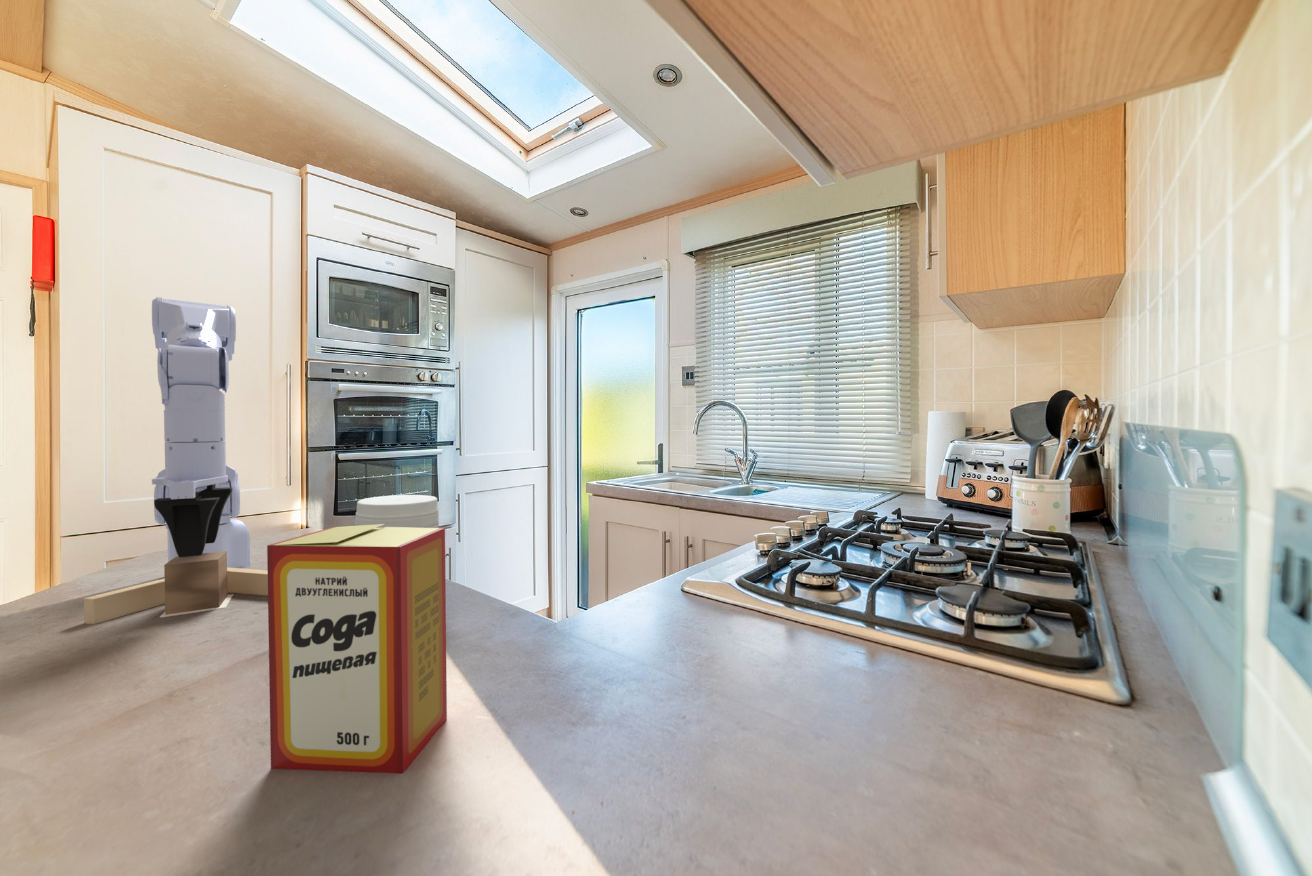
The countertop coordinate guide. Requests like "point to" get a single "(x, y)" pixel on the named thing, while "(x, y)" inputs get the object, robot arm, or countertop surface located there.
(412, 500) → the supplement tub
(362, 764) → the baking soda box
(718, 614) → the countertop surface
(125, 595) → the corner board
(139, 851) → the countertop surface
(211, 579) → the walnut block
